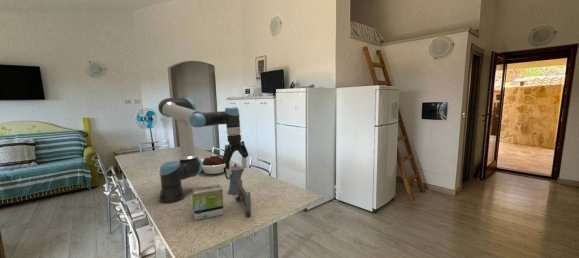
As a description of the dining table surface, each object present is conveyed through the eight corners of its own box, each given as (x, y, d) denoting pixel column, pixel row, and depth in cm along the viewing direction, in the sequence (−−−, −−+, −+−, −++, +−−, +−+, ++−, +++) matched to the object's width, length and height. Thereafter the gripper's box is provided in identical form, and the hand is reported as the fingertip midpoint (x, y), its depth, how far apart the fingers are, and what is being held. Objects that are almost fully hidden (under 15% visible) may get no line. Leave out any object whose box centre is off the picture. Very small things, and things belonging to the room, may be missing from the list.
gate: (245, 211, 137) (245, 196, 136) (239, 199, 153) (239, 185, 152) (248, 211, 137) (248, 196, 136) (242, 199, 154) (241, 185, 153)
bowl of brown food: (210, 167, 229) (209, 151, 227) (234, 169, 223) (234, 153, 221) (193, 176, 205) (192, 158, 203) (220, 178, 199) (219, 160, 197)
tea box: (195, 221, 130) (193, 194, 128) (193, 213, 139) (191, 188, 137) (224, 214, 137) (222, 189, 135) (220, 207, 146) (218, 183, 144)
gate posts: (243, 218, 133) (242, 195, 131) (234, 199, 157) (233, 179, 156) (254, 216, 135) (253, 193, 133) (244, 197, 160) (243, 178, 158)
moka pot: (242, 195, 163) (241, 166, 160) (221, 194, 166) (219, 165, 163) (247, 190, 172) (246, 162, 170) (227, 189, 175) (226, 161, 173)
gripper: (223, 137, 127) (227, 177, 129) (252, 131, 149) (255, 166, 151) (212, 137, 130) (216, 176, 132) (242, 131, 152) (245, 165, 154)
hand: (237, 171), depth 142 cm, fingers open, 13 cm apart
